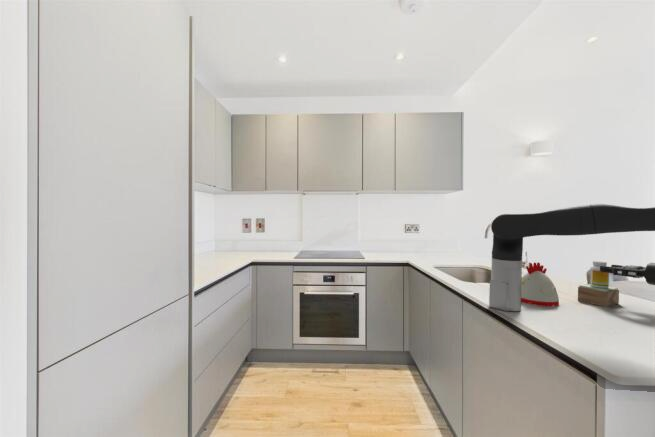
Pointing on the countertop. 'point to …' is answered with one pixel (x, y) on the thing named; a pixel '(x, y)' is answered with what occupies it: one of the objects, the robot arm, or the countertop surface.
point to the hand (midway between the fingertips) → (606, 268)
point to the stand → (598, 295)
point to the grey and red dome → (538, 287)
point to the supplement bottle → (599, 275)
